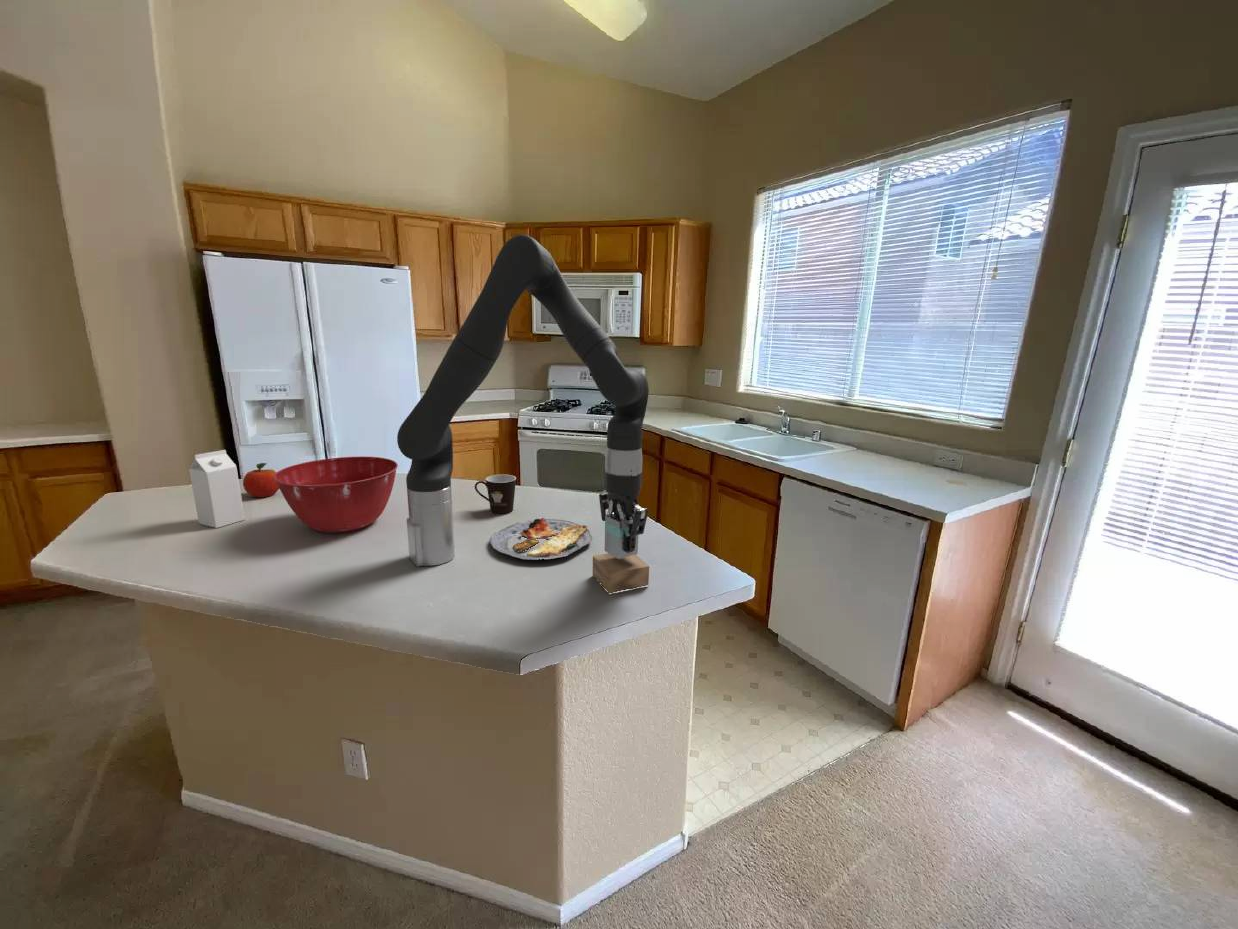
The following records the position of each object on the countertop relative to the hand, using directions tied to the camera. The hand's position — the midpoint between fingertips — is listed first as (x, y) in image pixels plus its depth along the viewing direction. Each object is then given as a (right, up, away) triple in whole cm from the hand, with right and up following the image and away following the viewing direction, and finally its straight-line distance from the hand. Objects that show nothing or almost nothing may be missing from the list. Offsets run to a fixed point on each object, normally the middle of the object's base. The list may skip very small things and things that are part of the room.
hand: (621, 546), depth 106 cm
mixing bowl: (-74, +1, +29) cm, 79 cm away
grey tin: (0, -1, 0) cm, 1 cm away
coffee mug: (-36, +4, +43) cm, 57 cm away
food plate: (-20, -3, +20) cm, 29 cm away
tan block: (0, -8, +2) cm, 8 cm away
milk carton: (-106, +2, +27) cm, 109 cm away
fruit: (-110, +8, +50) cm, 121 cm away
